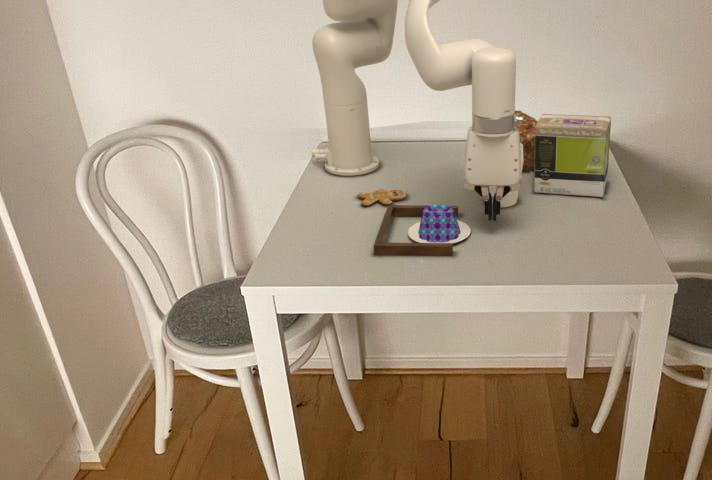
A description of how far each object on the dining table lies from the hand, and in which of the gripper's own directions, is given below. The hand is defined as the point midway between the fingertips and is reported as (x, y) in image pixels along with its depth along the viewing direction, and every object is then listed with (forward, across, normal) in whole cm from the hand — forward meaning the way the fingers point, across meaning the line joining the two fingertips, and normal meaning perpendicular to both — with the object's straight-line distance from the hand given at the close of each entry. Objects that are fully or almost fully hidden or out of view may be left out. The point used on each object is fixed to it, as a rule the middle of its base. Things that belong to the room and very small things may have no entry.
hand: (492, 217), depth 144 cm
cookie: (+4, +24, -17) cm, 29 cm away
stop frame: (+4, +14, 0) cm, 15 cm away
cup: (+4, -1, -16) cm, 16 cm away
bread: (+4, -5, -42) cm, 42 cm away
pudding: (+4, +10, +1) cm, 11 cm away
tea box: (+4, -16, -24) cm, 29 cm away
